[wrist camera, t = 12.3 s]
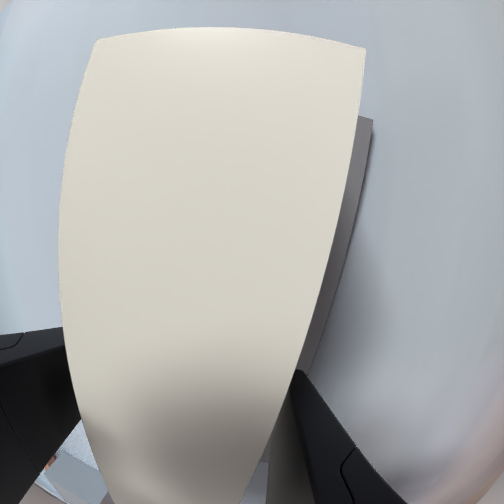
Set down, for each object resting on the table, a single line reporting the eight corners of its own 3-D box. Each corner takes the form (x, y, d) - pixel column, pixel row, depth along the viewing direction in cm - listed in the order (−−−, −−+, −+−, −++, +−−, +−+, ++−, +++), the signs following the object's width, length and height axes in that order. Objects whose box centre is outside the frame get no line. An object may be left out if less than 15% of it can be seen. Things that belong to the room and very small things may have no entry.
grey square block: (81, 478, 19) (64, 500, 15) (64, 449, 17) (43, 473, 13) (128, 502, 18) (113, 528, 14) (116, 477, 16) (97, 507, 13)
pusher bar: (167, 423, 12) (118, 511, 6) (204, 114, 9) (96, 39, 3) (244, 445, 12) (217, 545, 6) (323, 134, 8) (365, 48, 3)
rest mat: (147, 420, 13) (143, 424, 13) (178, 92, 9) (173, 89, 9) (270, 457, 12) (269, 462, 12) (370, 122, 8) (373, 120, 8)
